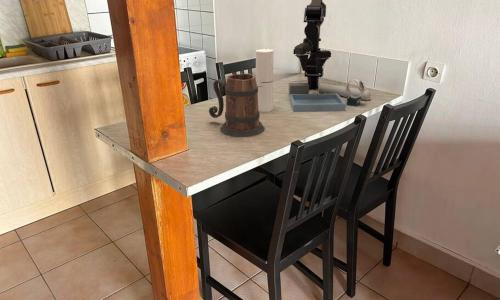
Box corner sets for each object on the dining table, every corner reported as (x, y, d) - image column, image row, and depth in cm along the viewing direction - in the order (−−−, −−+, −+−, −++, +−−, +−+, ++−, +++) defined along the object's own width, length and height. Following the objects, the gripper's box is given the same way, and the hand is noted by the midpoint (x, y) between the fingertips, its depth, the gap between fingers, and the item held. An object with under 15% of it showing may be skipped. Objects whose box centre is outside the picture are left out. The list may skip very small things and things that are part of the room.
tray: (289, 100, 172) (289, 94, 171) (336, 99, 172) (337, 93, 171) (293, 111, 157) (293, 104, 156) (345, 110, 157) (345, 104, 156)
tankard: (273, 125, 143) (273, 74, 134) (249, 140, 130) (248, 84, 121) (223, 115, 154) (221, 67, 146) (197, 128, 141) (193, 76, 133)
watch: (360, 107, 161) (363, 82, 157) (342, 104, 165) (345, 80, 161) (364, 103, 166) (367, 79, 161) (347, 101, 170) (349, 77, 165)
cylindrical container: (271, 112, 157) (271, 52, 147) (254, 111, 158) (254, 51, 148) (273, 107, 163) (274, 49, 153) (257, 106, 165) (257, 48, 154)
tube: (373, 90, 171) (324, 82, 185) (369, 89, 167) (319, 81, 180) (370, 102, 172) (321, 93, 186) (367, 101, 167) (317, 92, 181)
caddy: (288, 95, 181) (288, 79, 177) (306, 94, 181) (307, 78, 177) (289, 98, 176) (289, 81, 173) (308, 97, 176) (309, 81, 173)
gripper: (284, 35, 164) (283, 71, 170) (313, 38, 150) (311, 77, 156) (303, 34, 170) (302, 68, 176) (333, 37, 156) (330, 74, 161)
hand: (310, 72), depth 167 cm, fingers open, 9 cm apart
